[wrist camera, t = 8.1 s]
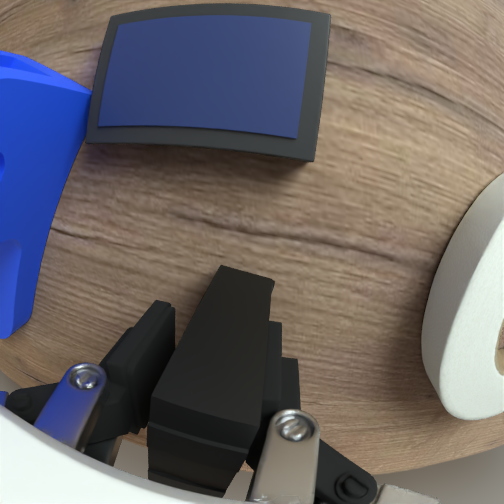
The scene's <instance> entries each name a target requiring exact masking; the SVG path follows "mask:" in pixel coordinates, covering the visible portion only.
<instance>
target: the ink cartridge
mask: <svg viewBox="0 0 504 504" xmlns="http://www.w3.org/2000/svg"><path fill="white" fill-rule="evenodd" d="M274 284H275V281H273V280H272V279H270V278H266V277H263V276H259V275H255V274H252V273H248V272H244V271H241V270H237V269H234V268H230V267H227V266H223V265H221V266H220V267H219V269H218V271H217V273H216V275H215V276H214V278H213V280H212V282H211V284H210V286H209V287H208V289H207V291H206V293H205V295H204V297H203V299H202V300H201V302H200V304H199V306H198V308H197V310H196V311H195V313H194V315H193V317H192V319H191V321H190V323H189V324H188V326H187V328H186V330H185V332H184V334H183V336H182V338H181V340H180V341H179V343H178V345H177V347H176V349H175V351H174V353H173V355H172V357H171V358H170V360H169V362H168V364H167V366H166V368H165V370H164V372H163V374H162V376H161V378H160V380H159V381H158V383H157V385H156V387H155V389H154V391H153V393H152V395H151V404H150V417H149V423H148V425H147V447H148V464H149V468H148V479H149V480H151V481H154V482H157V483H160V484H164V485H167V486H171V487H174V488H178V489H182V490H186V491H190V492H195V493H199V494H204V495H209V496H214V497H219V498H222V497H223V496H224V494H225V492H226V490H227V488H228V486H229V485H230V483H231V481H232V480H233V478H234V476H235V475H236V473H237V472H239V470H240V468H241V466H242V464H243V463H244V461H245V459H246V457H247V455H248V451H249V448H250V446H251V444H252V442H253V440H254V438H255V435H256V433H257V431H258V429H259V427H260V419H261V408H262V398H263V387H264V376H265V364H266V353H267V340H268V328H269V315H270V302H271V293H272V290H273V287H274Z"/></svg>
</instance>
